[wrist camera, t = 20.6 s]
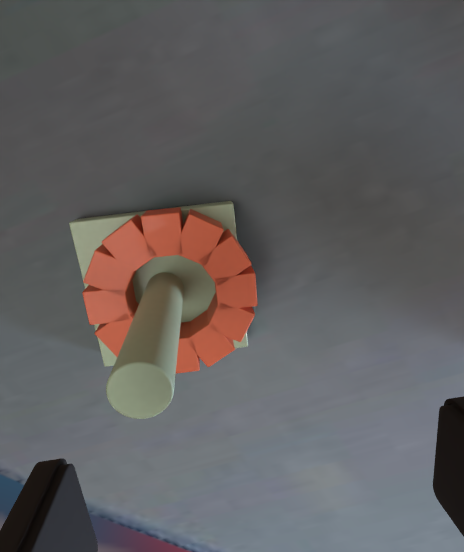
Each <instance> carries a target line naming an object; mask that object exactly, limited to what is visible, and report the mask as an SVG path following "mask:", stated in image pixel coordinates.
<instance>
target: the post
mask: <svg viewBox="0 0 464 552" xmlns="http://www.w3.org/2000/svg"><path fill="white" fill-rule="evenodd" d="M174 208H177V207H174ZM180 208H181V211H182V219H183V224H184V222H185V219H186V217H187V215H188V212H189V210H190V209H192V210H194V211H197V212H199V213H201V214H203V215H205V216H208V217H210V218H212V219H214V220H217V221H219V222H221V224H222V226H223V229H224V230H223V232H224V231H225V230H227V229H229V230H230V231H231V233H232V234H233V236H234V237H235V238H236V240H237V233H236V224H235V214H234V205H233V203H232V202H231V201H225V202H217V203H208V204H200V205H191V206H183V207H180ZM166 209H167V208H166ZM145 212H146V211H141V212H132V213H124V214H115V215H107V216H98V217H90V218H81V219H76V220H74V221H72V222H70V223H69V225H70V229H71V233H72V237H73V241H74V245H75V249H76V253H77V257H78V261H79V265H80V269H81V273H82V277H83V281H84V278H85V275H86V273H87V270H88V267H89V265H90V262H91V259H92V257H93V254H94V251H95V250H96V249H97V248H98V247H100V246H101V245H102V240H104V239H105V238H106V237H107V236H109V235H110V234H111V233H112V232H114V231H115V230H116V229H118V228H119V227H120V226H122V225H123V224H124V223H126V222H127V221H128V220H130V219H131V218H132V217H134V216H135V215H137V214H138V215H139V216H140V218H141V216H142V215H143V214H144V213H145ZM132 281H133V287H134V292H135V298H136V301H137V302H138V304H139V306H138V308H137V310H136V313H135V315H134V318H133V320H132V323H131V325H130V328H129V330H128V333H127V335H126V337H125V340H124V342H123V345H122V347H121V350H120V352H119V355H118V357H116V356H115V355H114V354H113V353H112V351H111V350H110V349H109V348H108V347H107V346H106V345H105V344H104V343H103V342H102V341H101V340H100V339H99V338H98V337H97V338H98V342H99V346H100V350H101V354H102V358H103V362H104V366H113V365H114V367H113V369H112V372H111V374H110V377H109V379H108V382H107V386H106V393H107V397H108V400H109V402H110V404H111V405H112V407H113V408H114V409H115V410H116V411H118V412H119V413H121V414H122V415H125V416H127V417H130V418H136V419H144V418H150V417H153V416H155V415H158V414H159V413H161V412H162V411H163V410H165V409H166V408H167V406H168V405H169V404H170V402H171V400H172V397H173V393H174V383H175V374H176V364H177V354H178V344H179V335H180V325H181V323H182V322H190V321H192V320H193V319H194V318H196V317H197V316H199V315H200V314H202V313H203V312H205V311H206V310H207V309H208V307H209V305H210V303H211V301H212V299H213V297H214V294H215V292H216V290H215V282H214V281H213V279H212V278H211V277H210V275H209V274H208V273H207V272H206V270H205V269H204V268H203V266H202V265H201V264H199V263H196V262H194V261H191V260H189V259H187V258H184V257H182V256H180V255H173V256H163V257H154V258H153V259H151V260H150V261H148V262H147V263H146V264H144V265H143V266H141V267H140V268H139V269H137V270H136V273H135V275H134V278H133V280H132ZM84 285H85V289H86V288H87V286H88V284H86V283H84ZM99 325H100V324H95V325H94V326H95V330H97V328H98V326H99ZM233 342H234V347H235V348H240V347H247V346H248V340H247V332H246V334H245V335H244V337H243V339H242V341H241V342H238V341H236V340H233Z"/></svg>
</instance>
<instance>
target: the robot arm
mask: <svg viewBox="0 0 464 552" xmlns="http://www.w3.org/2000/svg"><path fill="white" fill-rule="evenodd" d="M433 489H434V492H435V495H436V497H437V499H438V501H439V503H440V504H441V505H442V507H443V508H444V510H445V511H446V512H447V514H448V515H449V517H450V518H451V519H452V521H453V522H454V524H455V525H456V526H457V528H458V529H459V531H460V532H461V533H462V535H463V536H464V397H458V398H451V399H447V400H446V401H445V403H444V406H441V407H440V410H439V420H438V432H437V443H436V455H435V466H434V478H433ZM97 551H98V545H97V539H96V536H95V533H94V530H93V527H92V523H91V520H90V517H89V513H88V510H87V507H86V504H85V500H84V497H83V494H82V491H81V487H80V484H79V481H78V478H77V474H76V471H75V468H74V466H73V464H67V462H66V460H65V459H56V460H49V461H43V462H38V463H37V464H36V465H35V467H34V468H33V470H32V472H31V474H30V476H29V478H28V479H27V481H26V483H25V485H24V487H23V489H22V491H21V493H20V495H19V496H18V498H17V500H16V502H15V504H14V506H13V508H12V509H11V511H10V513H9V515H8V517H7V519H6V521H5V523H4V524H3V526H2V528H1V530H0V552H97Z"/></svg>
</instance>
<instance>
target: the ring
mask: <svg viewBox="0 0 464 552" xmlns="http://www.w3.org/2000/svg"><path fill="white" fill-rule="evenodd" d="M223 230H224V229H223V226H222V224H221V222H219V221H217V220H214V219H212V218H210V217H208V216H205V215H203V214H201V213H199V212H197V211H194V210H192V209H190V210H189V212H188V215H187V217H186V219H185V222H184V224H183V219H182V211H181V208H180V207H177V208H167V209H157V210H147V211H146V212H145V213H144V214H143V215H142V216H141V218H140V216H139V215H138V214H137V215H135V216H134V217H132V218H131V219H130V220H128V221H127V222H126V223H124V224H123V225H122V226H120V227H119V228H118V229H116V230H115V231H114V232H112V233H111V234H110V235H109V236H107V237H106V238H105V239H104V240H102V245H101V246H100V247H98V248H97V249H96V250H95V251H94V254H93V257H92V259H91V262H90V265H89V267H88V270H87V273H86V275H85V278H84V281H83V282H84V283H86V284H88V286H87V288H86V289H85V290H84V291H83V292H82V293H83V298H84V302H85V306H86V311H87V315H88V319H89V324H90V325H95V324H100V325H99V326H98V328H97V330H96V331H95V335H96V336H97V337H98V338H99V339H100V340H101V341H102V342H103V343H104V344H105V345H106V346H107V347H108V348H109V349H110V350H111V351H112V353H113V354H114V355H115V356H116V357H118V355H119V352H120V350H121V347H122V345H123V342H124V340H125V337H126V335H127V333H128V330H129V328H130V325H131V323H132V320H133V318H134V315H135V313H136V310H137V308H138V306H139V304H138V302H137V301H136V298H135V292H134V287H133V281H132V280H133V278H134V275H135V273H136V270H137V269H139V268H140V267H141V266H143V265H144V264H146V263H147V262H148V261H150V260H151V259H153V258H154V257H163V256H173V255H180V256H182V257H184V258H187V259H189V260H191V261H194V262H196V263H199V264H201V265H202V266H203V268H204V269H205V270H206V272H207V273H208V274H209V275H210V277H211V278H212V279H213V281H214V282H215V290H216V292H215V294H214V297H213V299H212V301H211V303H210V305H209V307H208V309H207V310H206V311H205V312H203V313H202V314H200V315H199V316H197V317H196V318H194V319H193V320H192V321H190V322H182V323H181V325H180V335H179V344H178V354H177V364H176V373H183V372H191V371H199V370H200V359H201V360H202V361H203V362H204V363H205V364H206V366H207V367H210V366H211V365H213V364H214V363H215V362H217V361H218V360H220V359H221V358H223V357H224V356H226V355H227V354H229V353H230V352H232V351H233V350H235V347H234V342H233V340H236V341H238V342H241V341H242V339H243V337H244V335H245V334H246V332H247V330H248V328H249V326H250V324H251V322H252V320H253V318H254V316H255V313H254V310H253V308H252V306H257V291H256V277H255V272H254V270H253V268H252V266H251V264H252V263H251V261H250V260H249V258H248V256H247V254H246V253H245V251H244V250H243V248H242V247H241V246H240V244H239V243H238V241H237V240H236V238H235V237H234V236H233V234H232V233H231V231H230V230H229V229H227V230H225V231H224V232H223Z"/></svg>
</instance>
